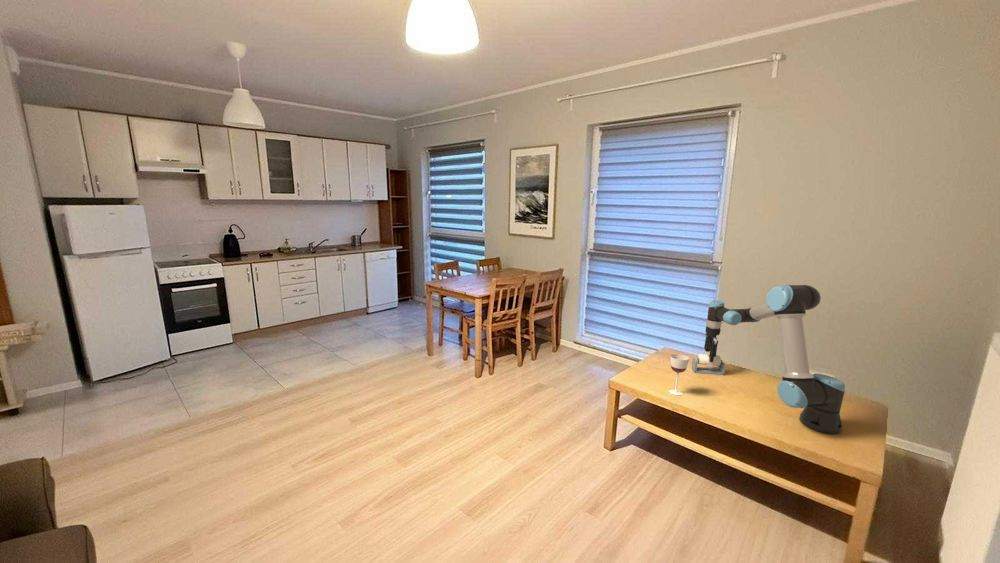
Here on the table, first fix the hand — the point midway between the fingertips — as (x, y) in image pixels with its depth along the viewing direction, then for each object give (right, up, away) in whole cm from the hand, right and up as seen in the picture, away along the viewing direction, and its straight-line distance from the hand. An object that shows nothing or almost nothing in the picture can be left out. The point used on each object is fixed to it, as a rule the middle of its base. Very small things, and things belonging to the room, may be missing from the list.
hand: (708, 364), depth 234 cm
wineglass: (-31, -10, -25) cm, 41 cm away
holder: (0, -5, +1) cm, 5 cm away
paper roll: (0, 0, -1) cm, 1 cm away
